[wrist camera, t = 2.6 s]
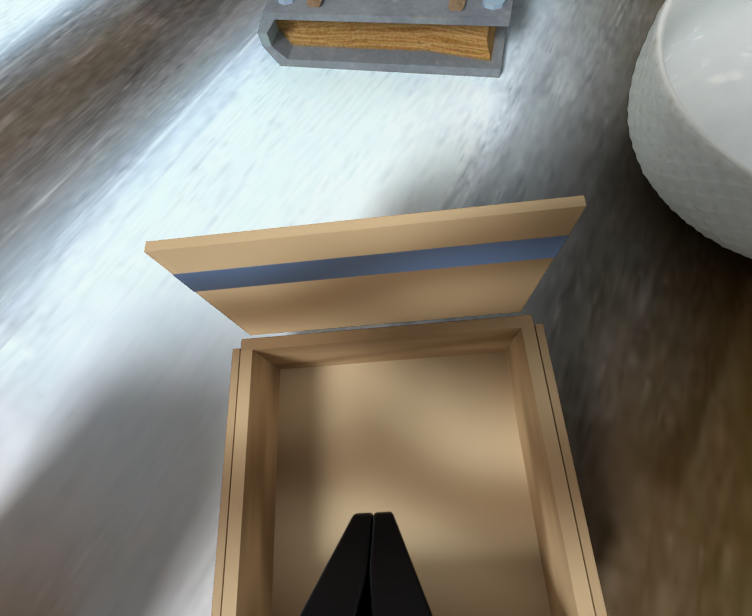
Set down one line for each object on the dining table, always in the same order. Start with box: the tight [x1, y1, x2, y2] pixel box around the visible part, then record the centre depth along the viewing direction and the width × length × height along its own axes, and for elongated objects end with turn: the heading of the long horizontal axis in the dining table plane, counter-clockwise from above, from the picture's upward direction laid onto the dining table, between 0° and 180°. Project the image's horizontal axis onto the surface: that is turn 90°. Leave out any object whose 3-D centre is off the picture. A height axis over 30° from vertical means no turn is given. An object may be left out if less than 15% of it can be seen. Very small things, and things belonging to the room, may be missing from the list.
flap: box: [144, 195, 587, 335], centre depth 13 cm, size 7×11×1 cm
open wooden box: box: [211, 315, 607, 616], centre depth 16 cm, size 12×13×4 cm
